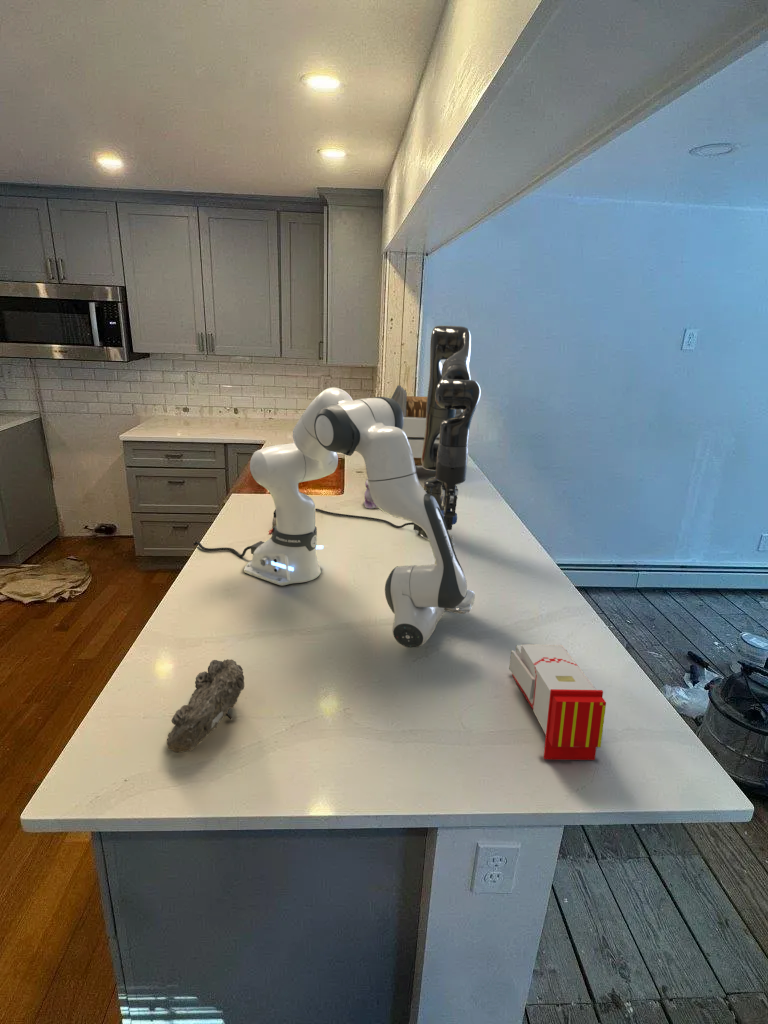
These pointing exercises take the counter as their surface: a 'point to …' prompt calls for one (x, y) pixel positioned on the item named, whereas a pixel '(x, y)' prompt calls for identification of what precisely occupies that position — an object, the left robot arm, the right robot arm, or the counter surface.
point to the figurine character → (274, 519)
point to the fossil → (206, 705)
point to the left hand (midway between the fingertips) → (442, 581)
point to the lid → (453, 517)
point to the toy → (560, 700)
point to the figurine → (368, 497)
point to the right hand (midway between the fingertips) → (446, 525)
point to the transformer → (414, 420)
